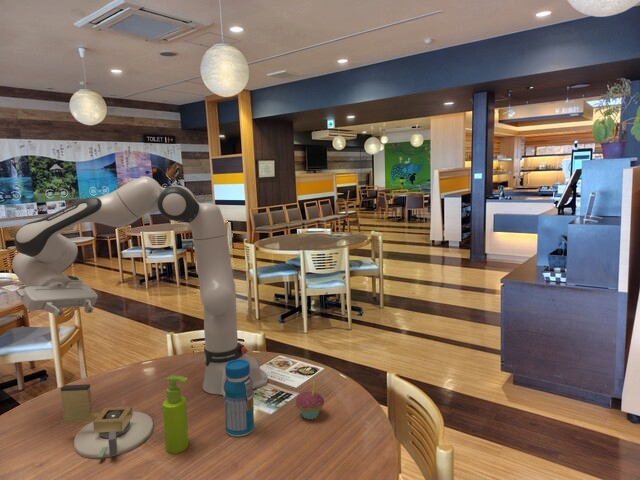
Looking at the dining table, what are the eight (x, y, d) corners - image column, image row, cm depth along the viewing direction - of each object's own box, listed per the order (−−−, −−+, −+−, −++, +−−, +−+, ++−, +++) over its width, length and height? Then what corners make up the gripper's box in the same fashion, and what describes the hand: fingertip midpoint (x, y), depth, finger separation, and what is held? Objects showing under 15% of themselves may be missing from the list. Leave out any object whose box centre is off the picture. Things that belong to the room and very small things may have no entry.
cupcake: (328, 411, 132) (328, 375, 130) (316, 426, 124) (316, 387, 122) (303, 405, 135) (302, 370, 134) (290, 419, 128) (289, 382, 126)
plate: (161, 414, 131) (160, 396, 130) (136, 461, 110) (134, 439, 109) (94, 417, 130) (93, 399, 129) (55, 465, 108) (53, 444, 107)
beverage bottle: (229, 441, 118) (226, 372, 115) (221, 425, 125) (218, 361, 122) (258, 432, 121) (256, 366, 118) (249, 418, 129) (247, 355, 126)
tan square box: (134, 421, 125) (133, 405, 124) (123, 438, 117) (122, 421, 116) (106, 423, 124) (104, 407, 124) (93, 439, 116) (92, 423, 116)
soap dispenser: (185, 455, 112) (180, 383, 109) (161, 451, 113) (156, 381, 110) (196, 441, 118) (191, 373, 115) (173, 438, 119) (168, 371, 116)
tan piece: (132, 415, 124) (129, 377, 123) (122, 431, 117) (119, 390, 115) (72, 418, 123) (68, 380, 121) (58, 434, 116) (53, 393, 114)
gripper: (16, 278, 117) (43, 305, 112) (85, 277, 136) (110, 300, 130) (8, 298, 118) (34, 325, 113) (77, 294, 137) (102, 318, 131)
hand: (75, 312), depth 122 cm, fingers open, 8 cm apart
